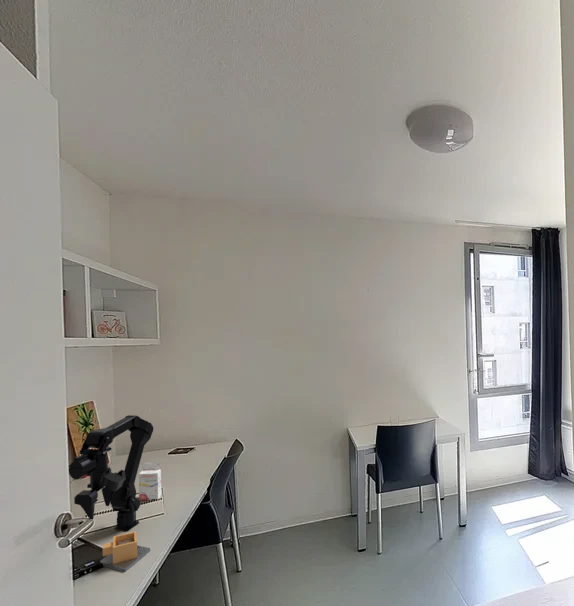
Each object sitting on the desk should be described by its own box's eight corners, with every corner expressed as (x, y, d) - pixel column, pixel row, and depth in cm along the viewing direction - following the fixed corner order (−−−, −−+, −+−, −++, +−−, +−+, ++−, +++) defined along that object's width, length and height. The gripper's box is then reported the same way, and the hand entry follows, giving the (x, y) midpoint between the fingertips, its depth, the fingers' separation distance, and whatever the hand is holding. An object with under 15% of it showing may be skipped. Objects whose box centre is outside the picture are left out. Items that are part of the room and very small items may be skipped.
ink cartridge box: (138, 501, 165) (138, 467, 166) (142, 495, 170) (141, 462, 171) (158, 499, 166) (157, 465, 167) (161, 494, 171) (160, 461, 172)
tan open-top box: (103, 554, 125) (103, 538, 125) (136, 546, 129) (136, 531, 130) (102, 566, 119) (102, 550, 119) (137, 557, 123) (136, 541, 123)
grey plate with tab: (125, 545, 132) (124, 532, 132) (150, 551, 128) (149, 537, 128) (99, 564, 121) (98, 550, 122) (125, 571, 117) (125, 556, 118)
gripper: (104, 478, 122) (105, 527, 122) (134, 457, 141) (135, 499, 140) (72, 478, 124) (73, 527, 123) (106, 457, 142) (107, 499, 142)
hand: (99, 512), depth 132 cm, fingers open, 9 cm apart
